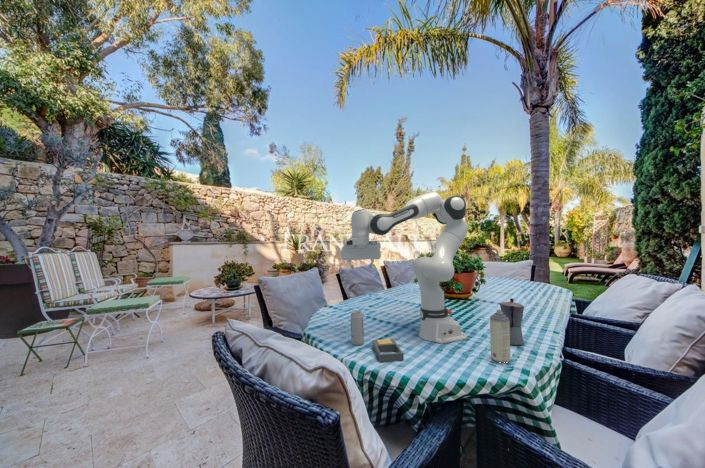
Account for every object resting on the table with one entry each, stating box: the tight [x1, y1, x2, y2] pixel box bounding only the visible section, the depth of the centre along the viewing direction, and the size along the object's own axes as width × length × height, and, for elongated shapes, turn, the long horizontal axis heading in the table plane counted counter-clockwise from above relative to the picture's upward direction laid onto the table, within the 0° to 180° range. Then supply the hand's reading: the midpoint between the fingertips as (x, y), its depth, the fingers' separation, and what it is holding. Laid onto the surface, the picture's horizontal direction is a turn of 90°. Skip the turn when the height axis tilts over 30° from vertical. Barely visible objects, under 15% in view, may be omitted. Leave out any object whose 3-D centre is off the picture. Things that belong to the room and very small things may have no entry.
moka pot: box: [499, 297, 525, 346], centre depth 125 cm, size 10×15×20 cm, turn 155°
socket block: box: [371, 338, 404, 363], centre depth 118 cm, size 10×15×3 cm, turn 7°
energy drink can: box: [349, 310, 365, 347], centre depth 129 cm, size 6×6×15 cm
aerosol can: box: [489, 308, 511, 364], centre depth 109 cm, size 7×7×20 cm
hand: (361, 268), depth 139 cm, fingers open, 8 cm apart
